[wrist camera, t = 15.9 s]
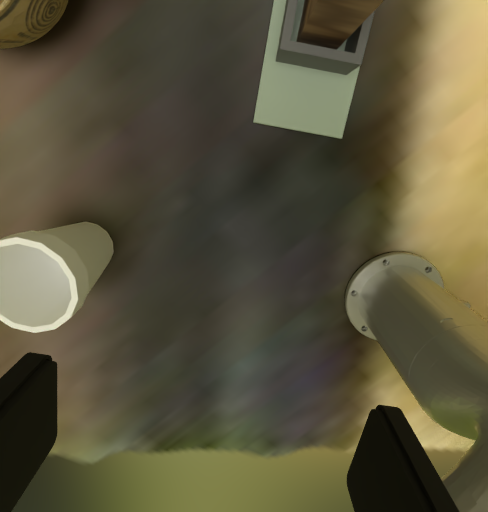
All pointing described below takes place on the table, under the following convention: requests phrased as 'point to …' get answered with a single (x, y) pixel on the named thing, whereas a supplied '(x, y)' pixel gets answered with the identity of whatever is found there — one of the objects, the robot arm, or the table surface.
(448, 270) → the table surface
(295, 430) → the table surface
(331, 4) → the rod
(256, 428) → the table surface
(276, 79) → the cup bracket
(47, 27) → the brown round bowl
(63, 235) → the foam cup
